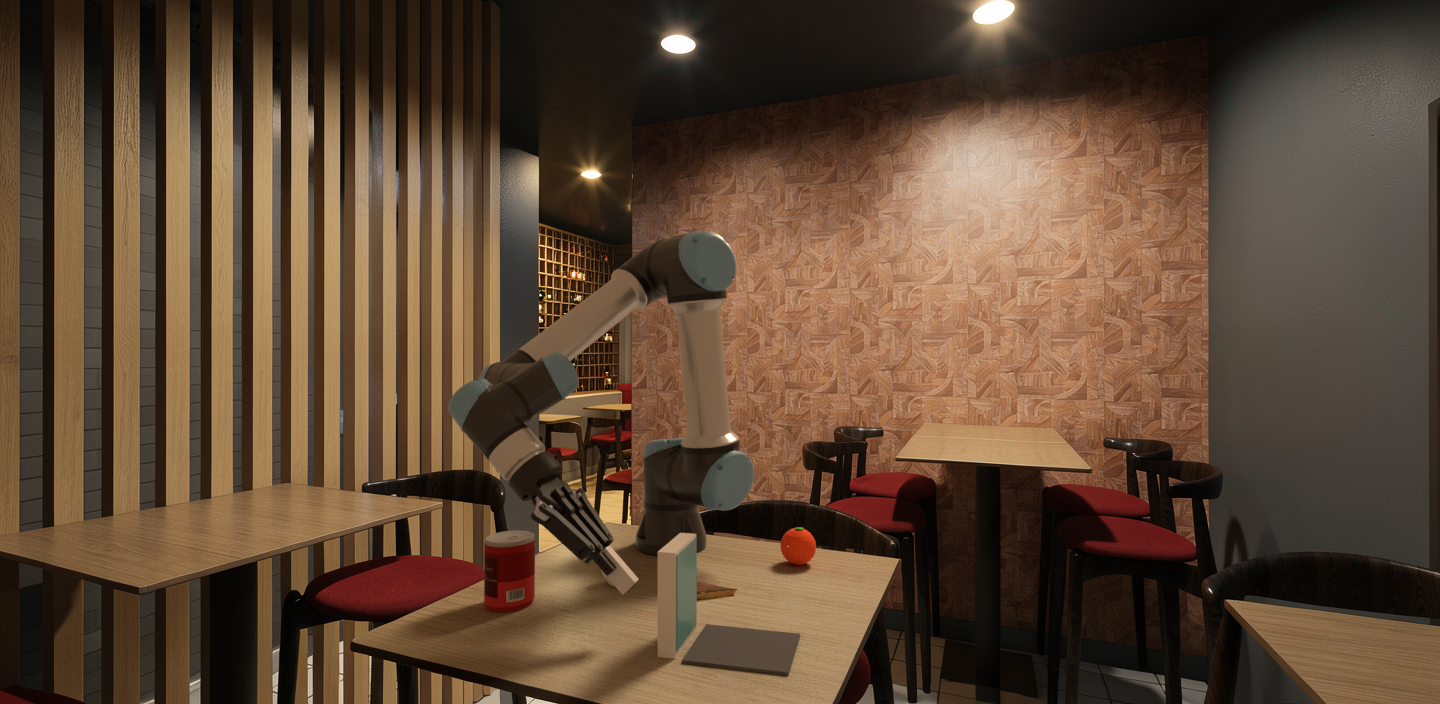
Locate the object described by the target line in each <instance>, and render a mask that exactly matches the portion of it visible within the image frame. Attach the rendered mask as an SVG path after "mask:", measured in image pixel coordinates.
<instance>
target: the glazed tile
mask: <svg viewBox="0 0 1440 704" xmlns="http://www.w3.org/2000/svg"><path fill="white" fill-rule="evenodd" d="M697 557H698V555H697V537H696V534H690V533H679V534H678V535H677V536H676V537H675V538H674V539H672V540H671V541H670V542H669V543H668V544H666V545H665V546H664V547H663V548H662V549H660V550H659V551H658V555H657V658H665V659H673V660H676V659H677V657H678V656H679V655H680V653H681V651H682V650H683V648H684V647H685V646H686V644H687V643H688V641H689V640H690V639H691V638H692V636H693V634H694V633H695V631H696V630H697V616H698V615H697V612H698V611H697V610H698V609H697V606H698V605H697V601H698V599H697V582H698V580H697V579H698V578H697V577H698V576H697V571H698V570H697V568H698V567H697V564H698V563H697Z"/></svg>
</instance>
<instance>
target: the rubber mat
mask: <svg viewBox="0 0 1440 704" xmlns="http://www.w3.org/2000/svg"><path fill="white" fill-rule="evenodd" d="M800 639H801V633H797V632H786V631H779V630H778V631H777V630H769V629H768V630H767V629H757V628H747V627H739V626H738V627H737V626H730V625H729V626H728V625H719V624H708V623H706V624H705V625H704V626H703V628H702V630H701V631H700V632H699V634H698V636H697V637H696V638H695V640H694V641H693V643H692V644H691V646H690V647H689V649H688V650H687V652H686V653H685V655H684V657H683V658H682V659H681V663H682V664H688V665H694V666H695V665H696V666H704V667H713V668H720V669H729V670H736V671H737V670H738V671H746V672H755V673H763V674H771V675H772V674H773V675H780V676H789V675H790V671H791V668H792V664H793V661H794V658H795V655H796V651H797V649H798V644H799V641H800Z"/></svg>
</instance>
